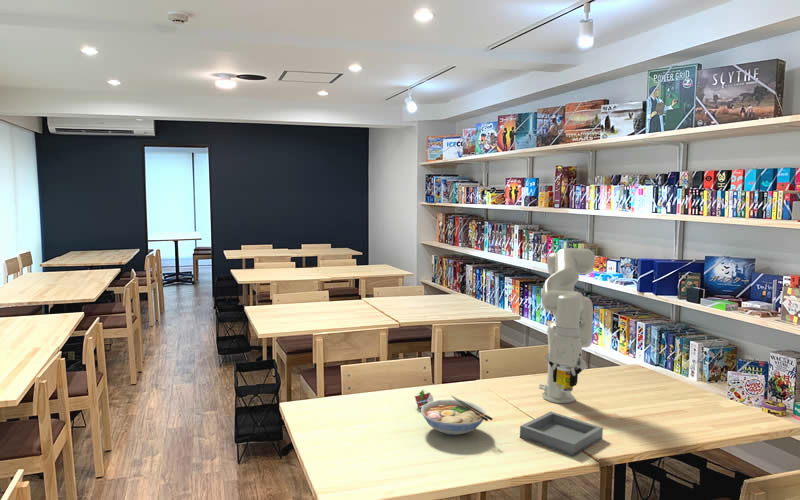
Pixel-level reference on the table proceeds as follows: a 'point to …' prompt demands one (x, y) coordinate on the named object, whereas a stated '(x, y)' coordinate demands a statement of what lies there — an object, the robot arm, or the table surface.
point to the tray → (561, 433)
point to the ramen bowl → (453, 416)
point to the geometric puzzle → (423, 398)
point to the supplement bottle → (563, 379)
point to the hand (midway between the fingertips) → (564, 382)
